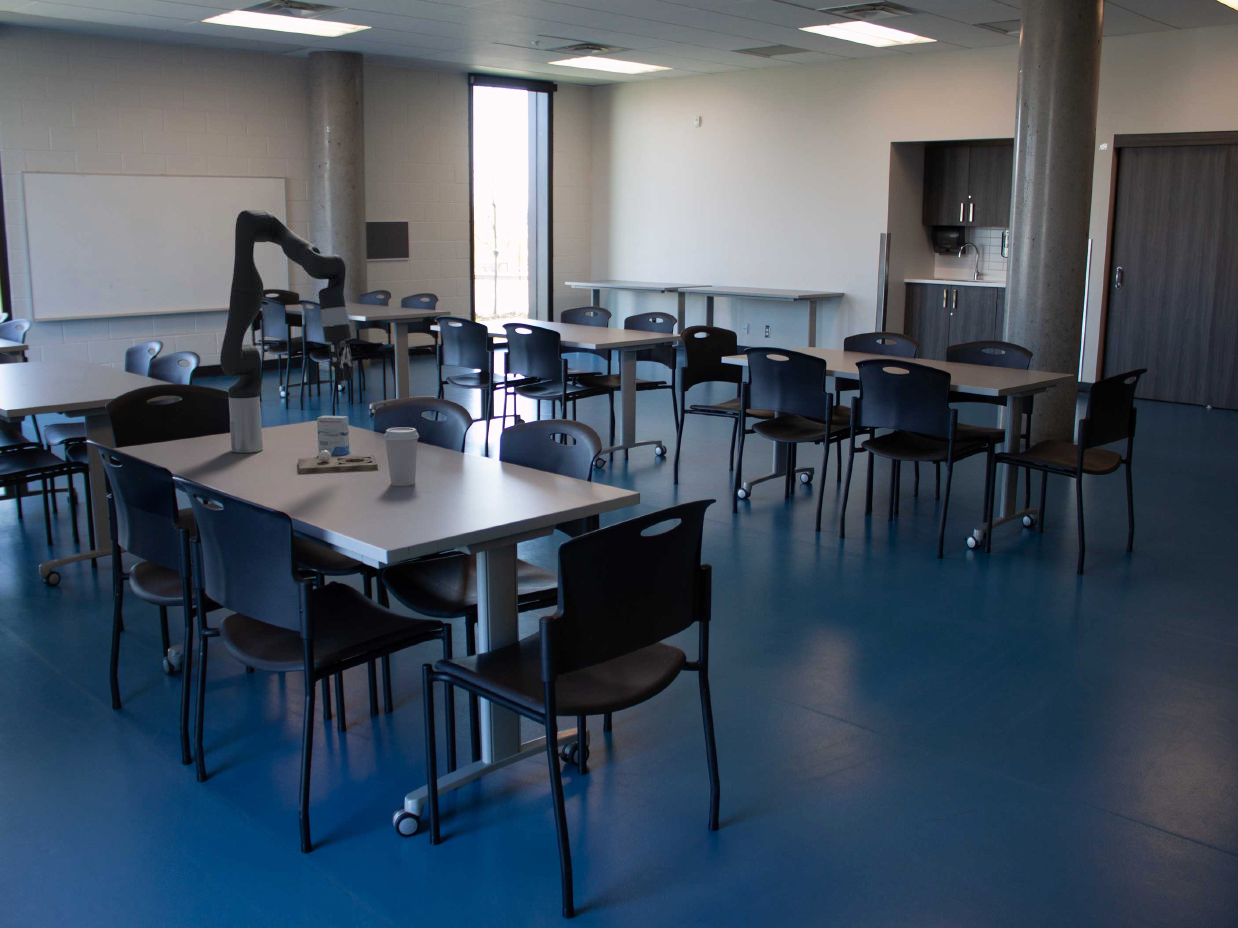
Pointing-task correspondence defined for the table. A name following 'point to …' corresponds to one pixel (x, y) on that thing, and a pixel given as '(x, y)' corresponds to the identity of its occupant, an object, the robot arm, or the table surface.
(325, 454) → the ball
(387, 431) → the coffee cup
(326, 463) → the wooden board
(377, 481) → the table surface
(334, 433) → the ink box
